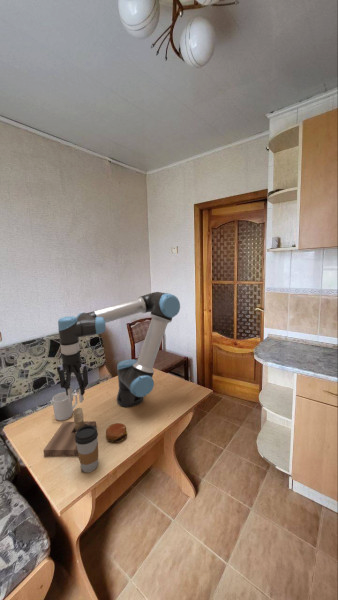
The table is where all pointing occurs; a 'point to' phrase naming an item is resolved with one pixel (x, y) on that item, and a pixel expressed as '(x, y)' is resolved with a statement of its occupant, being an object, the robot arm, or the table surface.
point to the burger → (116, 432)
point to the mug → (63, 406)
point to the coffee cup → (87, 447)
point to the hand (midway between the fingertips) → (76, 401)
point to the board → (64, 440)
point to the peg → (78, 418)
